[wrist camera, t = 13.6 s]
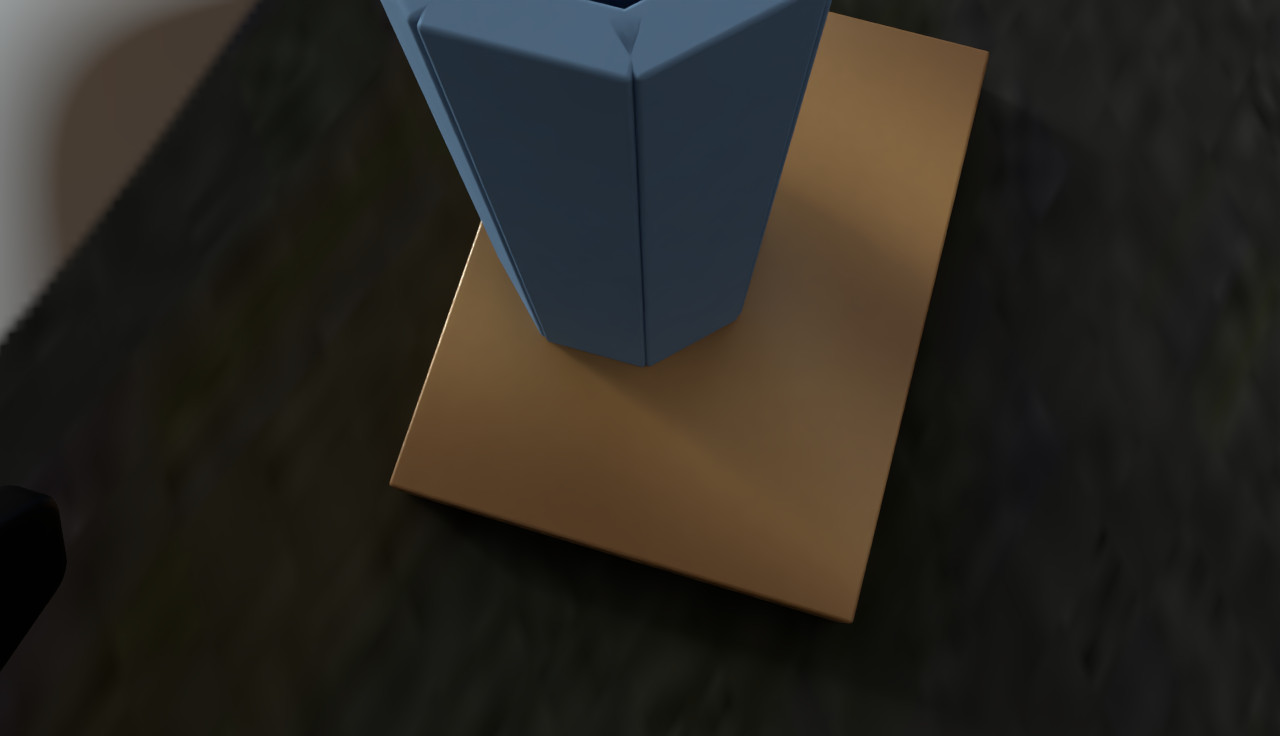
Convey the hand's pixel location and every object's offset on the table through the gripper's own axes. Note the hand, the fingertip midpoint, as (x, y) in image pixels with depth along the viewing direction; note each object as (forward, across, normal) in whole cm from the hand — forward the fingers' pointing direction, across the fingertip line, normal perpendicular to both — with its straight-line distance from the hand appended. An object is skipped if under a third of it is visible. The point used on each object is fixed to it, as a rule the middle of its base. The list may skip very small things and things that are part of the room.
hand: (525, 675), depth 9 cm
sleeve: (+12, +2, +2) cm, 12 cm away
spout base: (+13, 0, +2) cm, 13 cm away
